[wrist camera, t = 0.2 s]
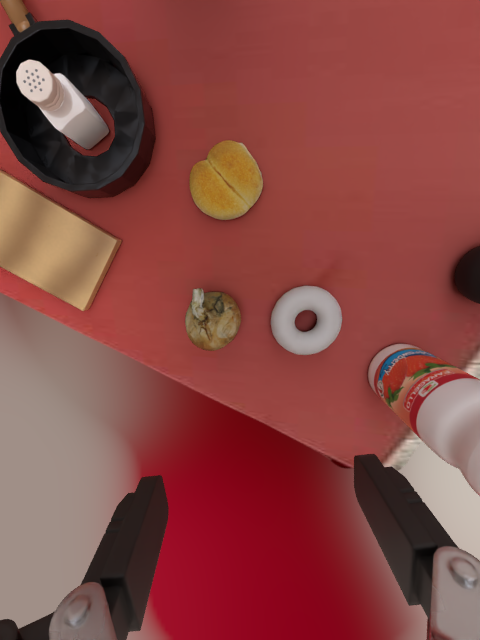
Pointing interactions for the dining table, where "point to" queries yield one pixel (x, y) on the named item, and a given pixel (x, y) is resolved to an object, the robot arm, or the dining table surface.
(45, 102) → the pepper shaker
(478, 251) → the cola bottle
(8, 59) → the pan
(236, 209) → the bread roll
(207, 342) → the onion
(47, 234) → the board
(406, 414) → the fruit juice
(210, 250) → the dining table surface
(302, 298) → the donut
